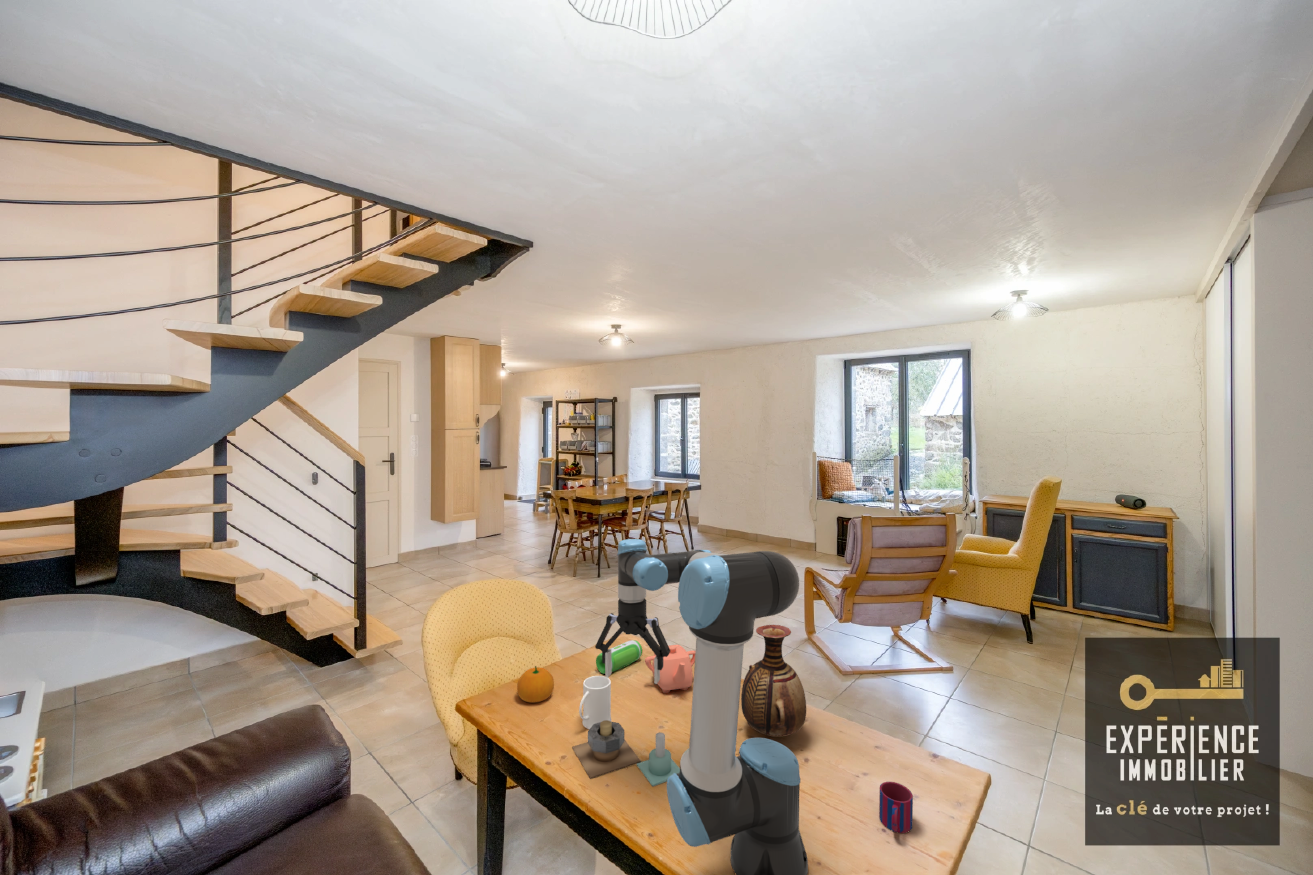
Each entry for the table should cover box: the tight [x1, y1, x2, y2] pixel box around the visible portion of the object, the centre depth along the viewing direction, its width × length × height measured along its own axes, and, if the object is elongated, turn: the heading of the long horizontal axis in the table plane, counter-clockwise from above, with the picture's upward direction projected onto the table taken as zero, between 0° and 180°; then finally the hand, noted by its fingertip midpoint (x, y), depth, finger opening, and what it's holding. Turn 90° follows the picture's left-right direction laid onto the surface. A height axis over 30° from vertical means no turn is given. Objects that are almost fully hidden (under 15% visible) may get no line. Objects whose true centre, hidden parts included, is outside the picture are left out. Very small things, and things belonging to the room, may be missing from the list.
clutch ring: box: [587, 721, 625, 753], centre depth 138 cm, size 9×9×3 cm
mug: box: [578, 675, 612, 730], centre depth 152 cm, size 12×8×12 cm
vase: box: [740, 624, 807, 737], centre depth 148 cm, size 21×18×30 cm
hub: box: [572, 720, 642, 780], centre depth 138 cm, size 14×14×8 cm
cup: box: [878, 781, 914, 834], centre depth 114 cm, size 7×10×7 cm
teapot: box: [644, 644, 696, 694], centre depth 175 cm, size 17×16×13 cm
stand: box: [636, 732, 680, 788], centre depth 132 cm, size 9×9×9 cm
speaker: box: [595, 640, 643, 675], centre depth 189 cm, size 18×7×8 cm, turn 137°
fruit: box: [516, 665, 555, 704], centre depth 167 cm, size 12×12×10 cm
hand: (632, 678), depth 138 cm, fingers open, 13 cm apart
